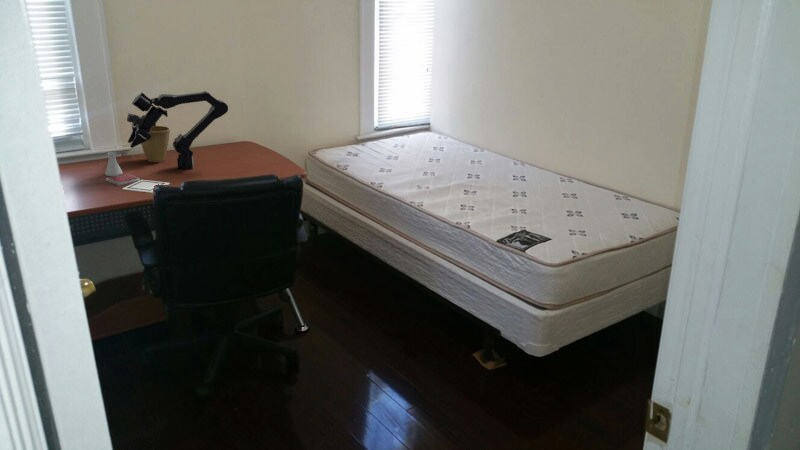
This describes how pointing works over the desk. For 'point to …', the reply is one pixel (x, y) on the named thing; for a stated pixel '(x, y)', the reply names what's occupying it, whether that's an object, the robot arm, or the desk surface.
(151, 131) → the plant pot
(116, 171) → the flask
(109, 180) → the ink pad
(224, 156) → the desk surface
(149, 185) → the marked board
